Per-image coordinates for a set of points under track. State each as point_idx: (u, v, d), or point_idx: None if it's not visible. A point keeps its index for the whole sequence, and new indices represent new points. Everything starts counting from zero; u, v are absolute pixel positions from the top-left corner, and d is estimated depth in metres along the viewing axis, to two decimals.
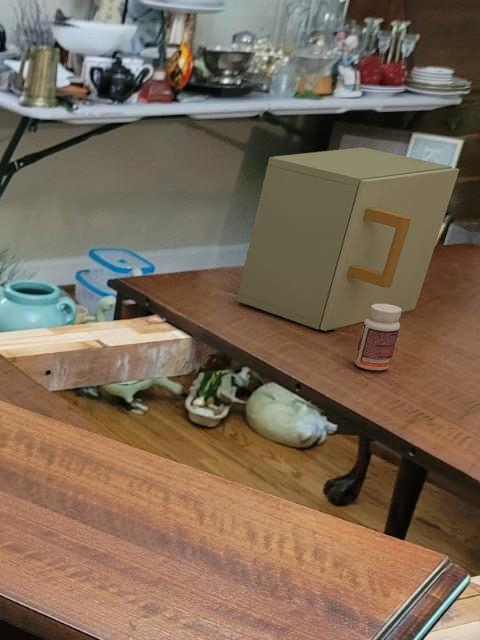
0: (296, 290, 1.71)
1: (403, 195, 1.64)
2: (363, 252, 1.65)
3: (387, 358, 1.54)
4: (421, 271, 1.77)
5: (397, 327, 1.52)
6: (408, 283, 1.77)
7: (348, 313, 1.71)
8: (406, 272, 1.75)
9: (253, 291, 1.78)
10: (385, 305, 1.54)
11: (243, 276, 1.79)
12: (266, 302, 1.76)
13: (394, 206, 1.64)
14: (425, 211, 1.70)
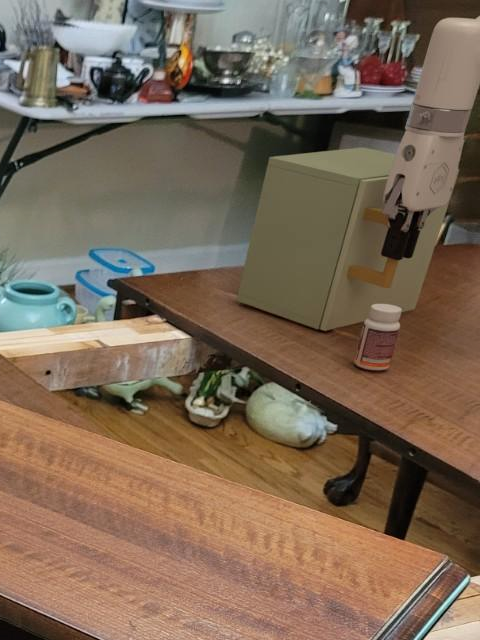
0: (296, 290, 1.71)
1: None
2: (363, 252, 1.65)
3: (387, 358, 1.54)
4: (421, 271, 1.77)
5: (397, 327, 1.52)
6: (408, 283, 1.77)
7: (348, 313, 1.71)
8: (406, 272, 1.75)
9: (253, 291, 1.78)
10: (385, 305, 1.54)
11: (243, 276, 1.79)
12: (266, 302, 1.76)
13: None
14: None
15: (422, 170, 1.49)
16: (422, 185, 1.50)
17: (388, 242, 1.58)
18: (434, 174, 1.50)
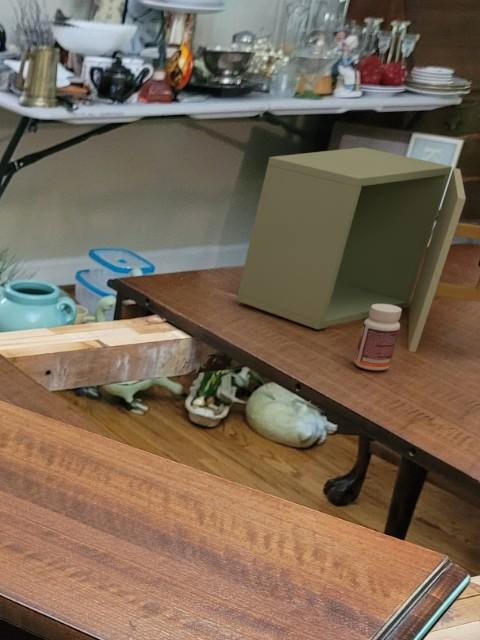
0: (296, 290, 1.71)
1: None
2: None
3: (387, 358, 1.54)
4: None
5: (397, 327, 1.52)
6: None
7: None
8: None
9: (253, 291, 1.78)
10: (385, 305, 1.54)
11: (243, 276, 1.79)
12: (266, 302, 1.76)
13: None
14: None
15: None
16: None
17: None
18: None
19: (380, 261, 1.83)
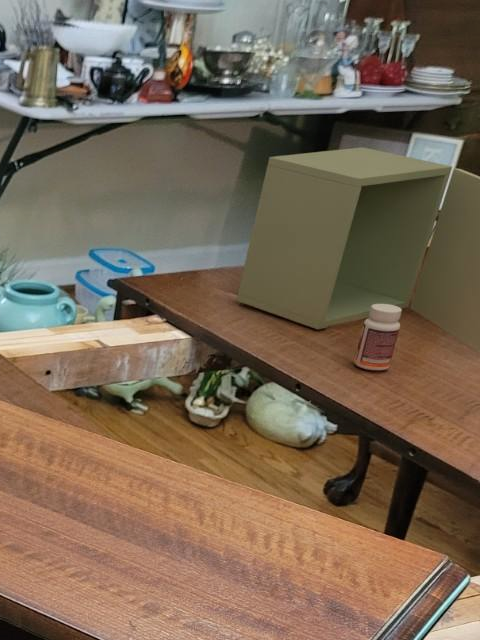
0: (296, 290, 1.71)
1: None
2: None
3: (387, 358, 1.54)
4: None
5: (397, 327, 1.52)
6: None
7: None
8: None
9: (253, 291, 1.78)
10: (385, 305, 1.54)
11: (243, 276, 1.79)
12: (266, 302, 1.76)
13: None
14: None
15: None
16: None
17: None
18: None
19: (380, 261, 1.83)
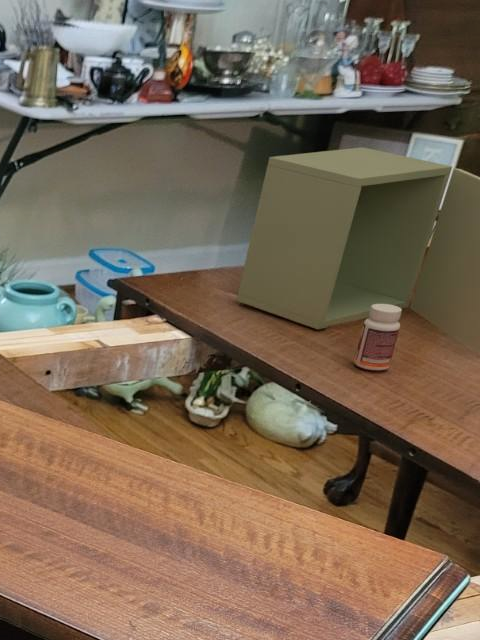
0: (296, 290, 1.71)
1: None
2: None
3: (387, 358, 1.54)
4: None
5: (397, 327, 1.52)
6: None
7: None
8: None
9: (253, 291, 1.78)
10: (385, 305, 1.54)
11: (243, 276, 1.79)
12: (266, 302, 1.76)
13: None
14: None
15: None
16: None
17: None
18: None
19: (380, 261, 1.83)
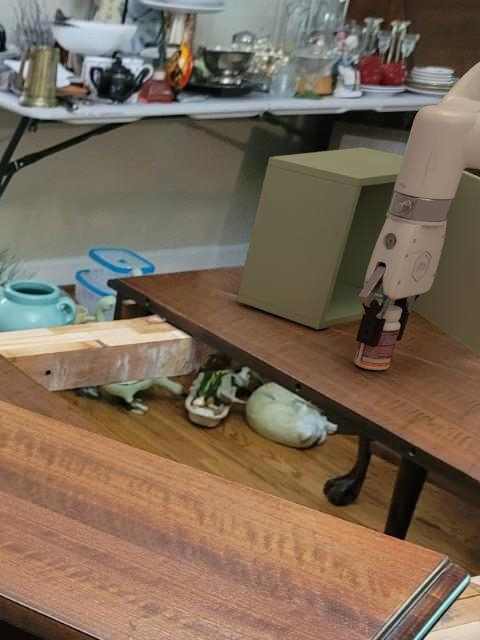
0: (296, 290, 1.71)
1: None
2: None
3: (387, 357, 1.54)
4: None
5: (397, 327, 1.53)
6: None
7: None
8: None
9: (253, 291, 1.78)
10: None
11: (243, 276, 1.79)
12: (266, 302, 1.76)
13: None
14: None
15: (403, 259, 1.45)
16: (403, 274, 1.46)
17: (363, 328, 1.53)
18: (416, 262, 1.46)
19: None
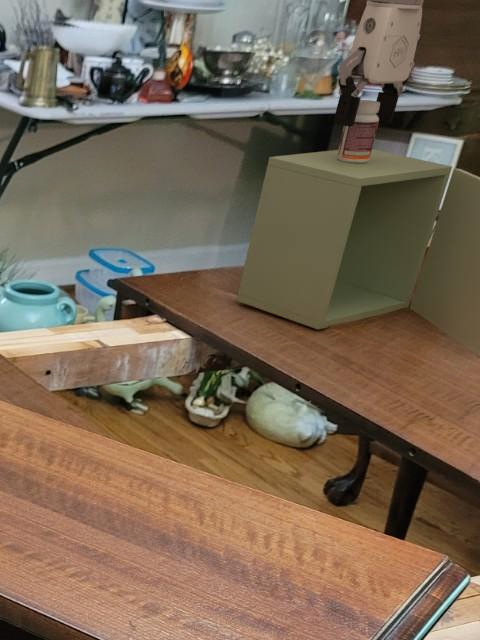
0: (296, 290, 1.71)
1: None
2: None
3: (366, 150, 1.67)
4: None
5: (376, 119, 1.65)
6: None
7: None
8: None
9: (253, 291, 1.78)
10: (365, 100, 1.67)
11: (243, 276, 1.79)
12: (266, 302, 1.76)
13: None
14: None
15: (381, 42, 1.57)
16: (382, 57, 1.58)
17: (340, 109, 1.63)
18: (394, 47, 1.59)
19: (380, 261, 1.83)
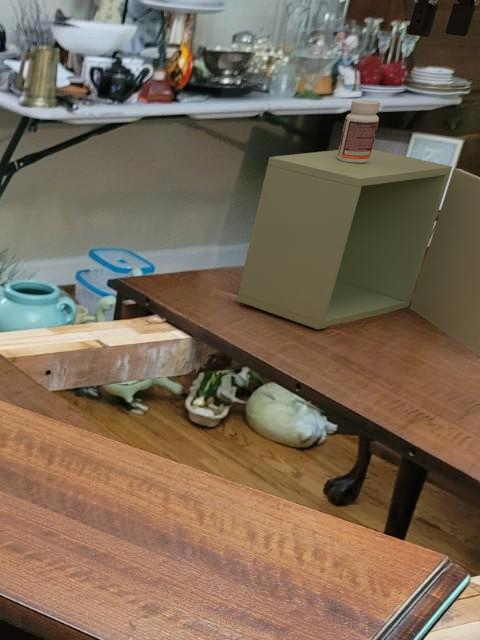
0: (296, 290, 1.71)
1: None
2: None
3: (366, 150, 1.67)
4: None
5: (376, 119, 1.65)
6: None
7: None
8: None
9: (253, 291, 1.78)
10: (365, 100, 1.67)
11: (243, 276, 1.79)
12: (266, 302, 1.76)
13: None
14: None
15: None
16: None
17: (415, 18, 1.56)
18: None
19: (380, 261, 1.83)
